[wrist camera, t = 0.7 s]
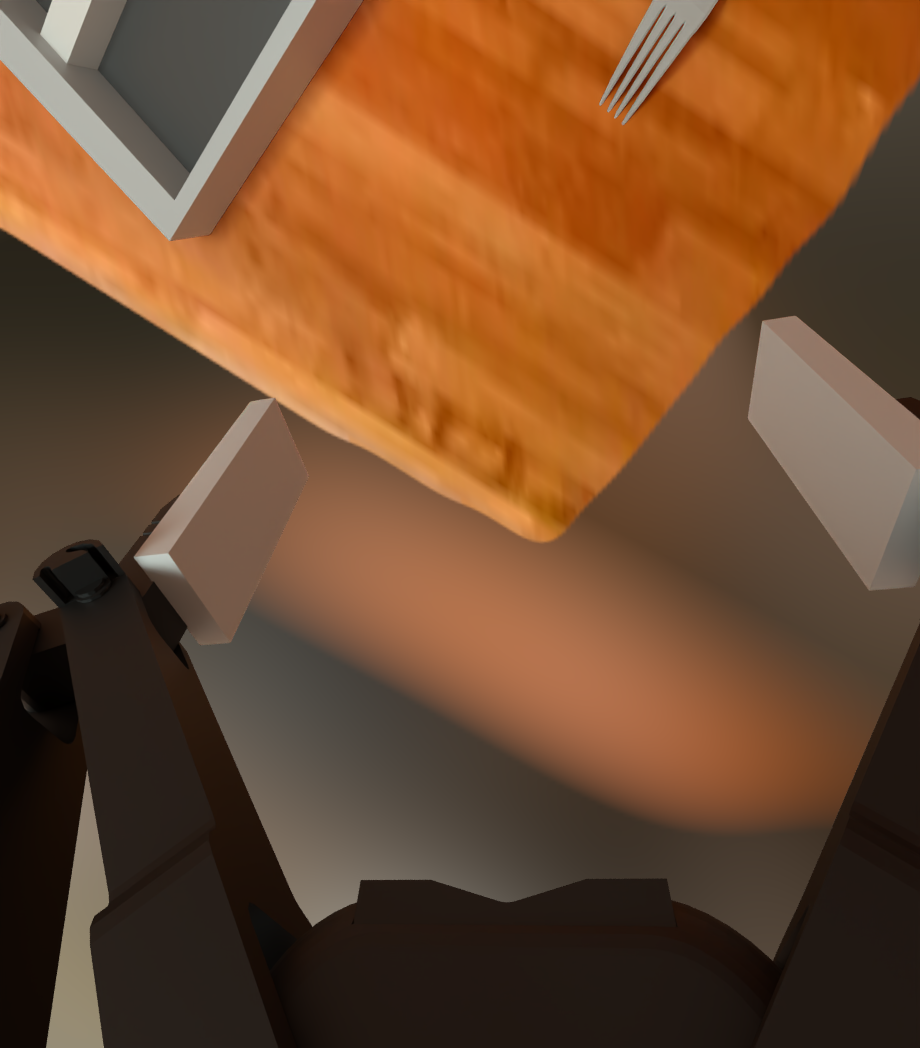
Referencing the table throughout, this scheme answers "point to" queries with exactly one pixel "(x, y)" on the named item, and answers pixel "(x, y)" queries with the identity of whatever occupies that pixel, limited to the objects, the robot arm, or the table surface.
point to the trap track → (171, 88)
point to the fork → (691, 9)
